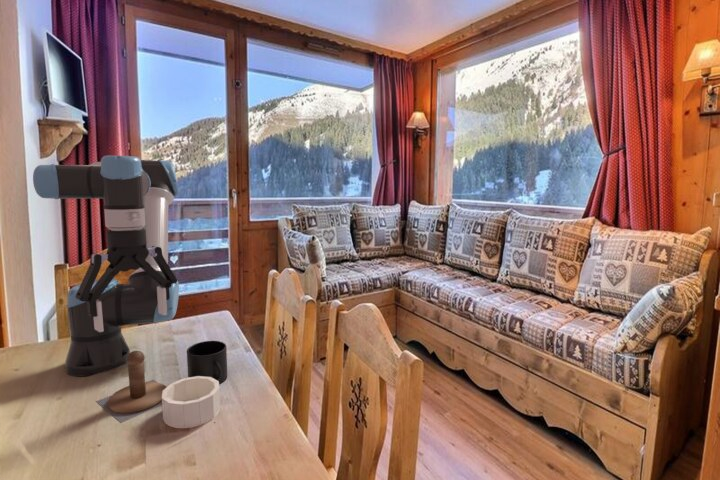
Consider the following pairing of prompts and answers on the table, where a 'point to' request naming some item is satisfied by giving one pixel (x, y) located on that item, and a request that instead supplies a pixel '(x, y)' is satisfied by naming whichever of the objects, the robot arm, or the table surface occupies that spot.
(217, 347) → the mug
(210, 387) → the bowl
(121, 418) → the mat
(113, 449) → the table surface
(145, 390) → the lid
